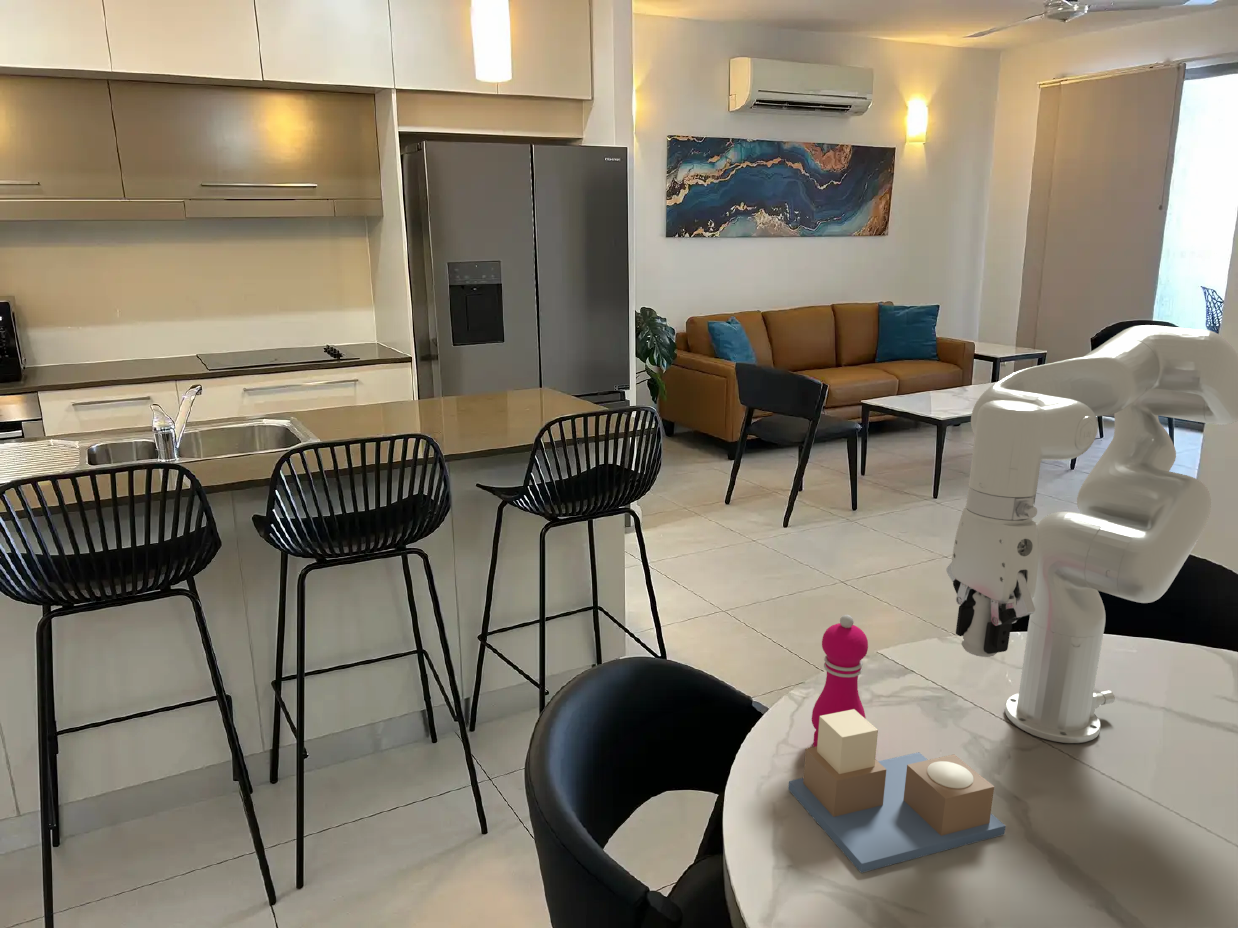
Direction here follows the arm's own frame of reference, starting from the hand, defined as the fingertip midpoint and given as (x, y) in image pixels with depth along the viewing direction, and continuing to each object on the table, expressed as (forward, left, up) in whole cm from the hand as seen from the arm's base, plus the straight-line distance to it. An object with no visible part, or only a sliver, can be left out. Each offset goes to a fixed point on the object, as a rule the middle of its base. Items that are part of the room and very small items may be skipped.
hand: (981, 641), depth 111 cm
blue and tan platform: (+13, +3, -20) cm, 24 cm away
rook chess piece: (0, 0, -1) cm, 1 cm away
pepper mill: (+12, -11, -20) cm, 26 cm away
